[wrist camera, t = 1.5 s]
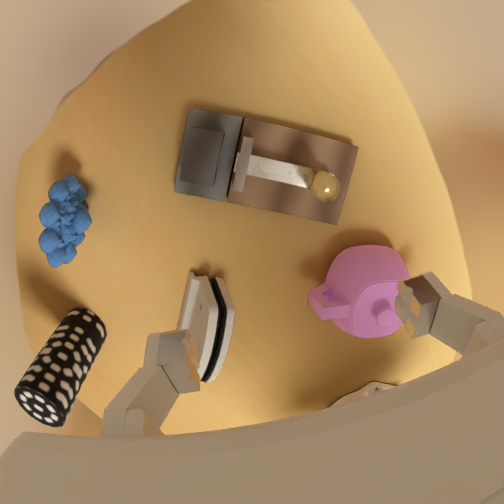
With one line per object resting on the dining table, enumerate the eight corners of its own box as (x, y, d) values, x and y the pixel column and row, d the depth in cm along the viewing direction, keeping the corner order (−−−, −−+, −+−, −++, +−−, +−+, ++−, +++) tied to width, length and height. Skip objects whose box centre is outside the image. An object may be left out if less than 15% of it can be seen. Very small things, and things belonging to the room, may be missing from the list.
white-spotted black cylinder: (112, 323, 50) (67, 409, 31) (100, 352, 52) (61, 434, 34) (71, 299, 48) (14, 376, 29) (62, 330, 50) (14, 405, 32)
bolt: (330, 170, 39) (348, 179, 32) (324, 192, 40) (340, 205, 34) (238, 148, 38) (237, 153, 31) (233, 171, 39) (231, 181, 32)
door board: (353, 145, 40) (368, 149, 35) (332, 220, 44) (344, 233, 39) (191, 108, 37) (184, 106, 32) (176, 189, 42) (168, 198, 37)
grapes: (110, 247, 44) (76, 285, 33) (73, 244, 44) (33, 278, 33) (108, 169, 40) (66, 187, 29) (68, 169, 39) (21, 187, 28)
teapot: (407, 310, 51) (436, 348, 40) (298, 317, 50) (311, 363, 40) (423, 239, 46) (462, 269, 35) (305, 239, 45) (323, 273, 35)
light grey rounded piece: (190, 269, 46) (206, 309, 38) (220, 271, 48) (242, 311, 40) (172, 352, 52) (184, 396, 44) (198, 352, 54) (213, 395, 46)
